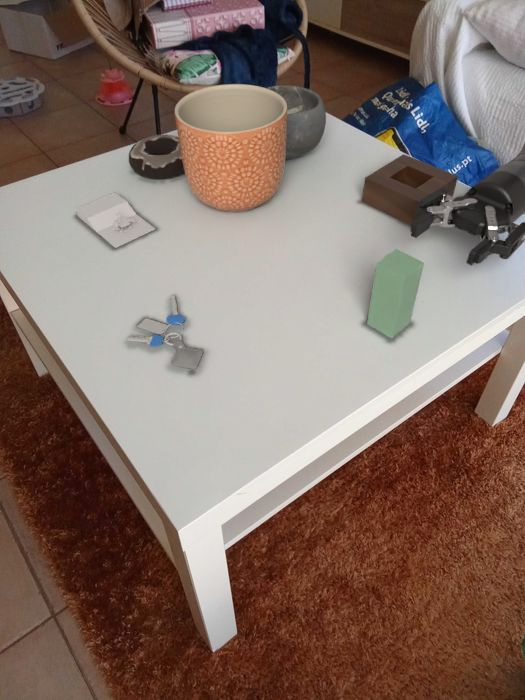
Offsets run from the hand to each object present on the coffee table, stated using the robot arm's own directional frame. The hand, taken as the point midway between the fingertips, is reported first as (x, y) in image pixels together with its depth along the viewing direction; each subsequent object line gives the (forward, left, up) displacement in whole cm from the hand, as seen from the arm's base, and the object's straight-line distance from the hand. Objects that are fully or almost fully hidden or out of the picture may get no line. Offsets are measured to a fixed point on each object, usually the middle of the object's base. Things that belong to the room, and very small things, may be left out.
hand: (441, 244), depth 73 cm
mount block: (+11, -19, -7) cm, 23 cm away
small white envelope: (+50, +9, -7) cm, 51 cm away
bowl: (+37, -24, -7) cm, 45 cm away
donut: (+54, -9, -7) cm, 55 cm away
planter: (+37, -7, -7) cm, 38 cm away
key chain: (+27, +26, -7) cm, 38 cm away
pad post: (+3, +10, -7) cm, 12 cm away
